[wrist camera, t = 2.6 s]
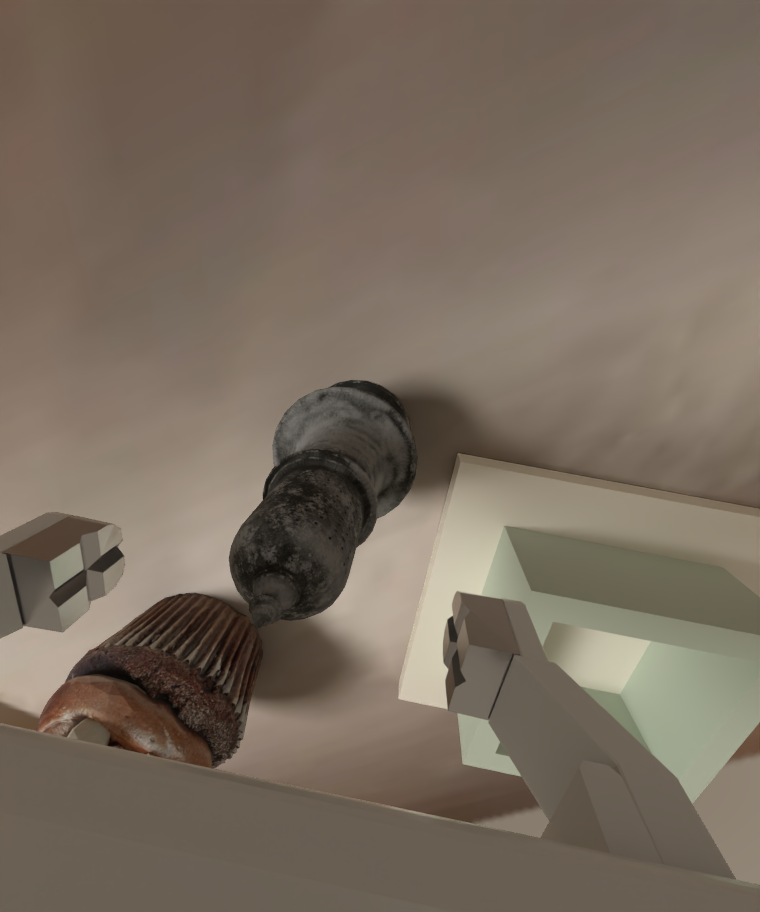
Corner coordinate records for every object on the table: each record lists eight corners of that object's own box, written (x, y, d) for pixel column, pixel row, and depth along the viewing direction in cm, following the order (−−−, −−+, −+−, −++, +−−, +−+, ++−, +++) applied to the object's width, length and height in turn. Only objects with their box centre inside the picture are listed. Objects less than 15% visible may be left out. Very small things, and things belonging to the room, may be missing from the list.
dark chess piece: (429, 387, 17) (454, 524, 6) (403, 498, 19) (383, 758, 8) (305, 362, 17) (87, 446, 6) (293, 475, 19) (117, 697, 8)
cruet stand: (457, 452, 18) (475, 510, 12) (792, 514, 17) (960, 602, 12) (399, 680, 24) (393, 786, 18) (648, 732, 23) (717, 856, 18)
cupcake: (115, 646, 25) (-64, 840, 16) (167, 553, 22) (-20, 729, 12) (236, 711, 26) (136, 928, 17) (302, 633, 23) (224, 848, 14)
